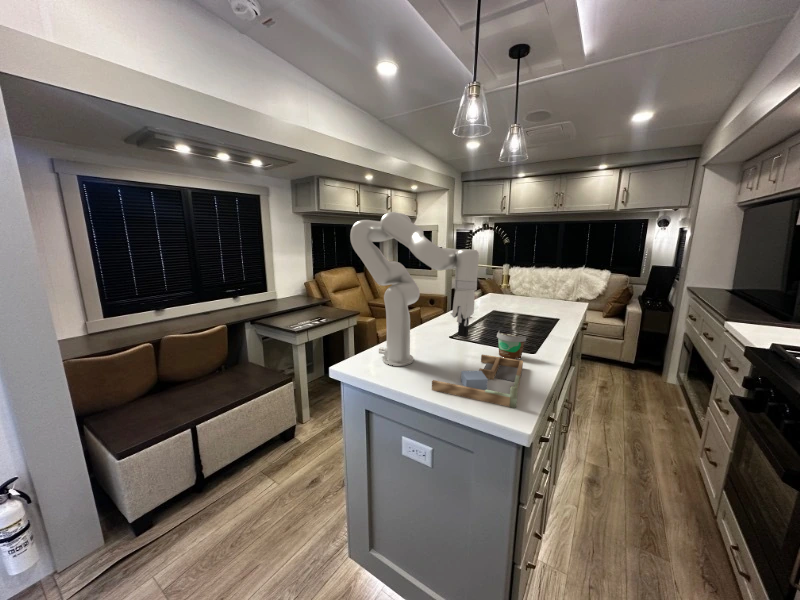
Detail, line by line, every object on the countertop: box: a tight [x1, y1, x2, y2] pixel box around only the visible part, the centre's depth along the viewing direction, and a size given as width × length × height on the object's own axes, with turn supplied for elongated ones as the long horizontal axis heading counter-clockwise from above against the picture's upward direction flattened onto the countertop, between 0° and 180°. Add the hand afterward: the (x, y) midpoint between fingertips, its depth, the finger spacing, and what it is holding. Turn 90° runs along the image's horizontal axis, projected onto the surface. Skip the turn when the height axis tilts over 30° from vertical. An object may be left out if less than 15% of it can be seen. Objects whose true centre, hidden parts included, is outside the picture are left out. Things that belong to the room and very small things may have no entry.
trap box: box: [431, 354, 524, 409], centre depth 109 cm, size 26×33×6 cm
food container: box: [496, 330, 527, 360], centre depth 129 cm, size 12×6×10 cm, turn 47°
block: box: [460, 370, 489, 390], centre depth 104 cm, size 7×7×4 cm
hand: (462, 335), depth 110 cm, fingers closed
